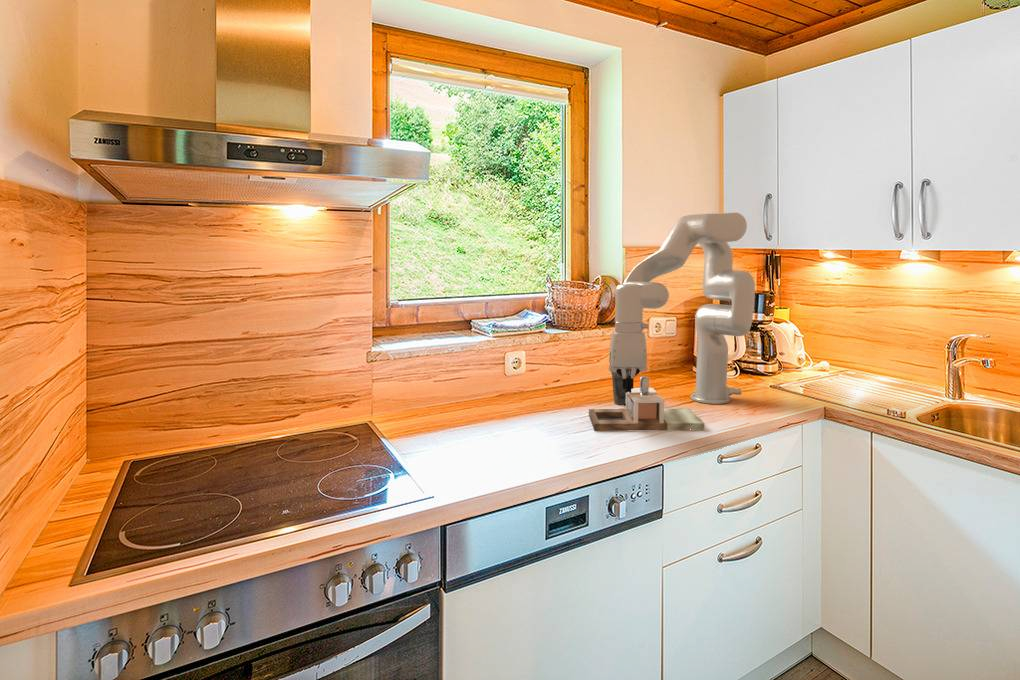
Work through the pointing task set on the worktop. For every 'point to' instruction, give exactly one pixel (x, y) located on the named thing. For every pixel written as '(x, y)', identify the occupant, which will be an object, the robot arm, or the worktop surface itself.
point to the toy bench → (646, 399)
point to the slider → (643, 391)
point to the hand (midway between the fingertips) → (627, 391)
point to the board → (643, 420)
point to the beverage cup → (619, 388)
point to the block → (647, 410)
